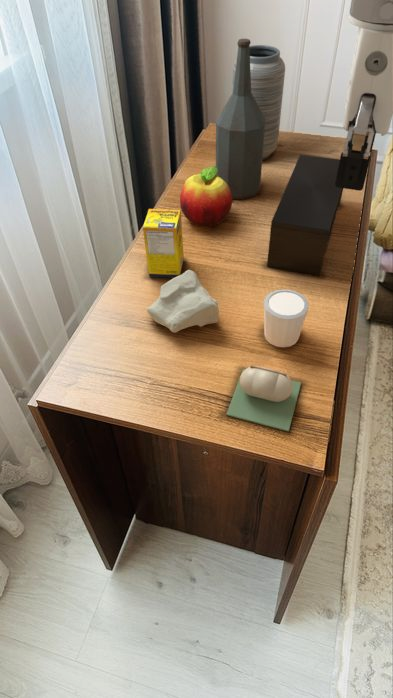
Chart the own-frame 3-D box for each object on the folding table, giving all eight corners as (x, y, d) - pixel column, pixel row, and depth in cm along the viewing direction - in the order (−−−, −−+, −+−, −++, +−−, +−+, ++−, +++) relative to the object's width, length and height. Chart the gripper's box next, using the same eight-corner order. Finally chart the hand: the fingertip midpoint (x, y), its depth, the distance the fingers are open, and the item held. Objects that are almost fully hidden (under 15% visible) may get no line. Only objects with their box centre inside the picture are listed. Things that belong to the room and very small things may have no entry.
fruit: (172, 227, 104) (169, 182, 96) (194, 201, 110) (192, 158, 103) (219, 238, 100) (220, 193, 93) (239, 211, 107) (241, 167, 100)
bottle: (247, 174, 118) (255, 28, 96) (268, 193, 112) (282, 42, 90) (208, 184, 115) (207, 36, 93) (227, 204, 109) (231, 51, 87)
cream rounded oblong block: (291, 395, 74) (297, 369, 72) (286, 411, 70) (292, 383, 68) (241, 383, 75) (246, 357, 73) (234, 397, 72) (238, 370, 70)
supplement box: (183, 259, 96) (181, 208, 88) (180, 278, 92) (177, 228, 84) (153, 257, 97) (148, 207, 89) (148, 277, 93) (142, 226, 85)
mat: (301, 383, 75) (301, 382, 74) (288, 431, 69) (288, 430, 69) (243, 369, 77) (243, 368, 76) (226, 415, 71) (226, 414, 71)
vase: (274, 165, 121) (284, 61, 104) (227, 162, 122) (229, 58, 105) (278, 144, 128) (288, 43, 111) (234, 141, 130) (237, 41, 113)
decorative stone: (136, 312, 84) (158, 257, 81) (173, 317, 91) (194, 266, 88) (178, 342, 77) (203, 283, 75) (214, 345, 84) (238, 291, 82)
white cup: (255, 343, 80) (257, 311, 75) (267, 316, 85) (271, 284, 80) (296, 355, 78) (302, 323, 73) (307, 326, 83) (313, 294, 78)
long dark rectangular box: (339, 204, 108) (349, 160, 101) (320, 276, 92) (329, 230, 84) (294, 197, 110) (300, 154, 103) (266, 266, 94) (271, 220, 87)
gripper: (428, 32, 42) (378, 209, 55) (432, -15, 53) (390, 142, 66) (339, 25, 44) (310, 199, 57) (361, -19, 55) (333, 135, 68)
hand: (353, 168), depth 61 cm, fingers open, 9 cm apart
